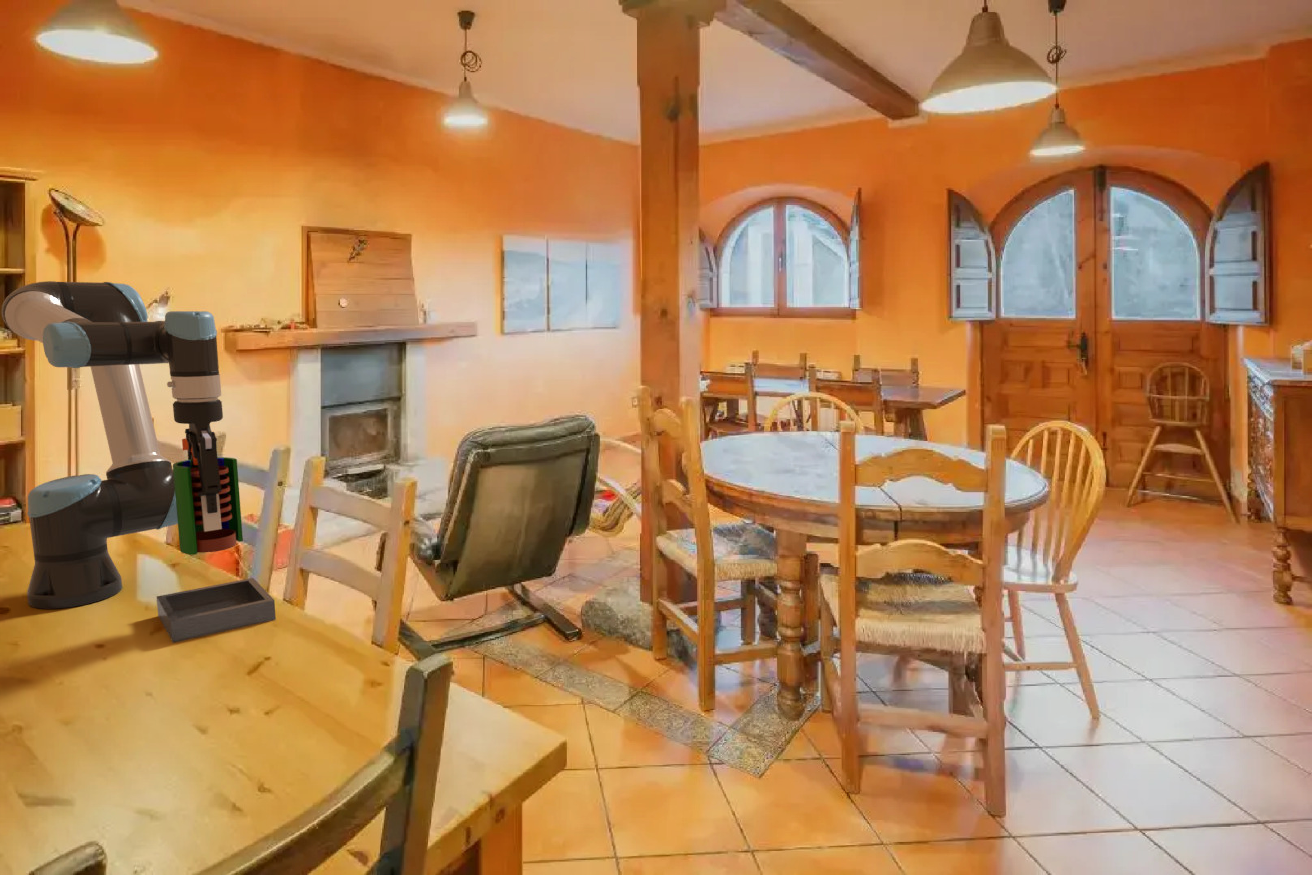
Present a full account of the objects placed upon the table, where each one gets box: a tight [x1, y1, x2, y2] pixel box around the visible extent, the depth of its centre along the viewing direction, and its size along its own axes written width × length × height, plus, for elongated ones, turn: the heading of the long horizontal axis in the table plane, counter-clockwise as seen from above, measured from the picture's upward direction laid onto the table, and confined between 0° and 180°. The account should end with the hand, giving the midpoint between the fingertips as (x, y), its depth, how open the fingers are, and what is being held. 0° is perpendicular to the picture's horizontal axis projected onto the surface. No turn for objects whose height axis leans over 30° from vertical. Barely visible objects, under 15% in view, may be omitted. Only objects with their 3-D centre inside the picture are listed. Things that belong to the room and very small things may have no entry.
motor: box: [172, 438, 244, 556], centre depth 142 cm, size 10×9×20 cm
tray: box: [156, 577, 277, 644], centre depth 146 cm, size 15×16×4 cm
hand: (208, 525), depth 143 cm, fingers closed on motor, 7 cm apart
